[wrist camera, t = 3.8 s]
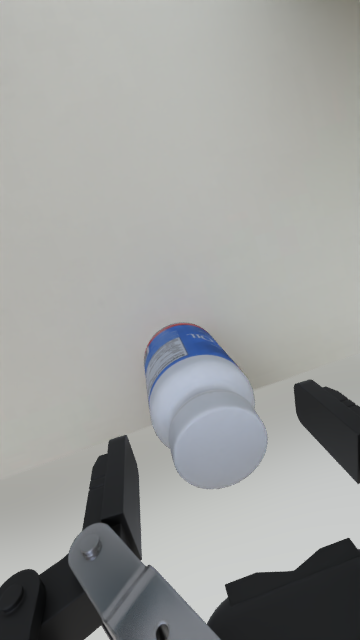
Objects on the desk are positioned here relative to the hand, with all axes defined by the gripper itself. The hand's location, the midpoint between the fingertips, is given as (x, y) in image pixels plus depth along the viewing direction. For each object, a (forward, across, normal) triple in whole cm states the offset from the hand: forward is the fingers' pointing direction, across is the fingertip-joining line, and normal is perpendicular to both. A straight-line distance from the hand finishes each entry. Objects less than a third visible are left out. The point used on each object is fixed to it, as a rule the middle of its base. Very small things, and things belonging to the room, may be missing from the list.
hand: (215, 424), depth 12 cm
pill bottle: (+8, 0, 0) cm, 8 cm away
